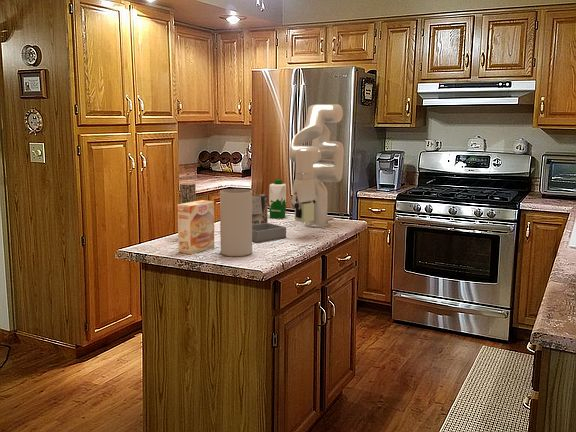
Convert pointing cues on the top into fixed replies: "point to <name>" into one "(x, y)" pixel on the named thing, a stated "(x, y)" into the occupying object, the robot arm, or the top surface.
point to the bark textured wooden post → (187, 192)
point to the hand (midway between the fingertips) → (304, 216)
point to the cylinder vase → (236, 222)
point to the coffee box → (259, 209)
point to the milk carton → (277, 200)
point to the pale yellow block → (306, 212)
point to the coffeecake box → (195, 226)
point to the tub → (267, 232)
